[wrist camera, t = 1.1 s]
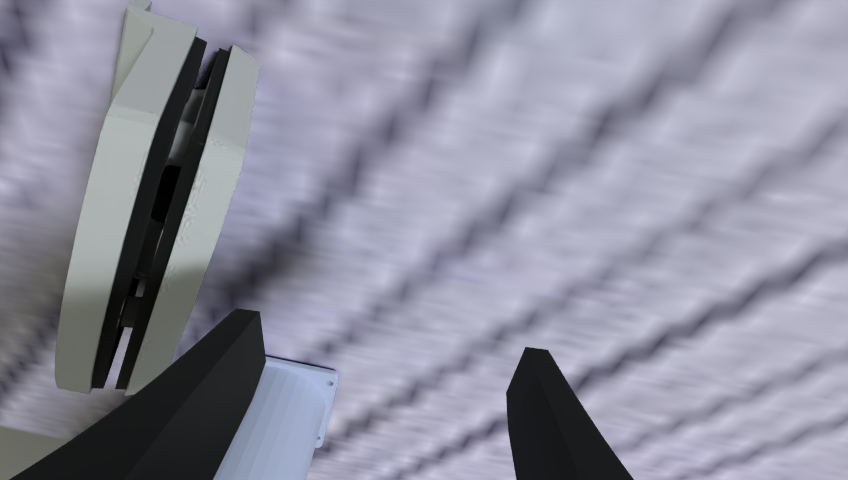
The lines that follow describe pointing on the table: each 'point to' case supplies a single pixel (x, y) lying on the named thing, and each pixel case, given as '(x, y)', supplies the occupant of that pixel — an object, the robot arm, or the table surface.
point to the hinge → (152, 201)
